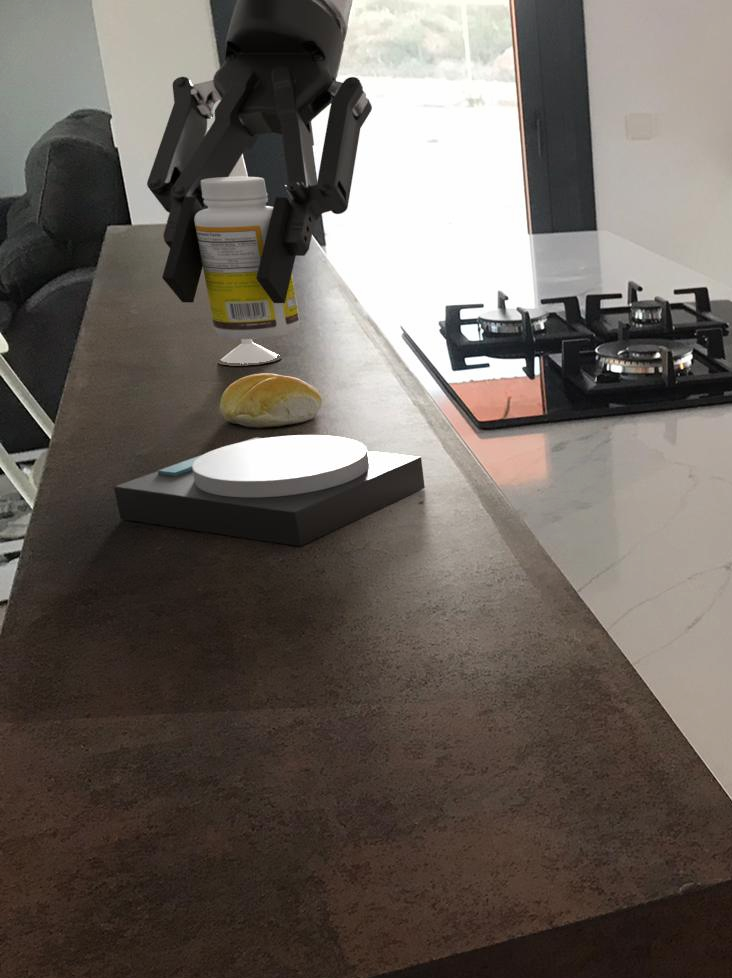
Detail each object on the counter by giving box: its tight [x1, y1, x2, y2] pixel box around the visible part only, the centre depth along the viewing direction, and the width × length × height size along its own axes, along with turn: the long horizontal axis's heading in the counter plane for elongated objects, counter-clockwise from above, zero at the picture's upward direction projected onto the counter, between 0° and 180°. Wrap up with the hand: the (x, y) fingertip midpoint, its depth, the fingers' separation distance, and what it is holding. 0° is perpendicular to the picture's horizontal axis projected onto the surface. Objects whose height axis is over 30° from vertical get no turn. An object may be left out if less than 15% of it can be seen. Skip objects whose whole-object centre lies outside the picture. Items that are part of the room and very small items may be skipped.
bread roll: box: [219, 372, 323, 429], centre depth 118 cm, size 8×9×4 cm
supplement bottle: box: [194, 176, 300, 340], centre depth 87 cm, size 6×6×10 cm
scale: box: [113, 434, 426, 547], centre depth 95 cm, size 16×14×4 cm
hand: (224, 290), depth 84 cm, fingers closed on supplement bottle, 6 cm apart
